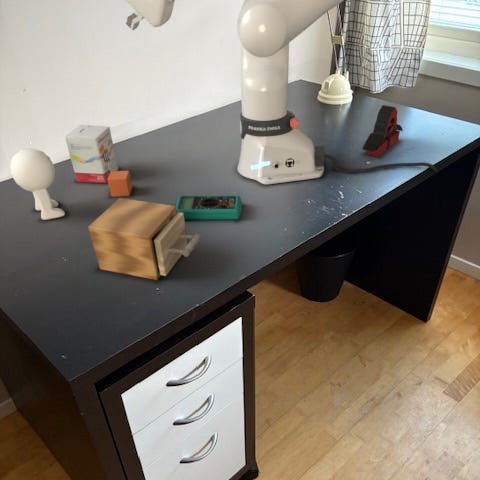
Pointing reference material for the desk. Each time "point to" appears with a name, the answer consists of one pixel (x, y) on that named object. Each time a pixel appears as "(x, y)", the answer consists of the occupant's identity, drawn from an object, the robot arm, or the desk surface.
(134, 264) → the cabinet
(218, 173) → the desk surface
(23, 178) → the toy character
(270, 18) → the robot arm
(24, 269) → the desk surface
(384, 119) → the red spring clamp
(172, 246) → the drawer
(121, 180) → the block
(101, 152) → the ink box
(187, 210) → the digital multimeter
